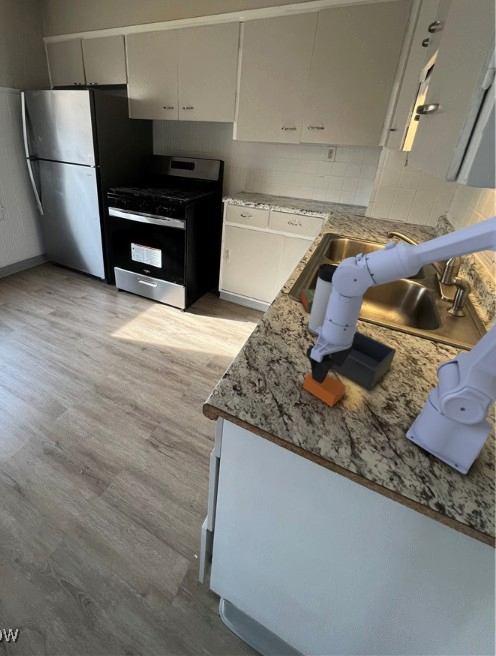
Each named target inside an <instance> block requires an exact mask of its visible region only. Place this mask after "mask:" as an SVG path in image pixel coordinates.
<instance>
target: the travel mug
mask: <svg viewBox="0 0 496 656" xmlns="http://www.w3.org/2000/svg"><path fill="white" fill-rule="evenodd" d="M338 266H339V265H336V264H333V263H326V262H325V263H319V265H318V269H319V271H318V276H317V279H316V286H315V289H314V290H315V295H314V300H313V305H312V310H311V312H310V316H309V320H308V325H307V329H308V331H309V332H310V333H312V334H313V335H315V336H318V337H319V334H318V333H317V332H316V329H317V328H318V327H320V326H322V327H323V324H324V319H325V315H326V310H327V306H328V302H329V298H330V294H331V293H332V287H333V284H332V277H333V274H334V272H335V271H336V269H337V268H338Z"/></svg>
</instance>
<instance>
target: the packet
mask: <svg viewBox="0 0 496 656" xmlns="http://www.w3.org/2000/svg"><path fill="white" fill-rule="evenodd" d="M302 388H303V389H305V390H306V391H308V392H309V393H310V394H312V395H313V396H315V397H316V398H318V399H319V400H321V401H322V402H324V403H325V404H327V405H328V406H329V407H331V408H333V407H334V406H335V405H336V404H337V403H338V401H340V399H341V398H343V396H344V392H345V390H346V385H345V384H343V383H341V382H340V381H338V380H337V379H335V378H333V377H331V376H330V375H328V374H327V376H326V378H325V380H324V381H323V383H321V384H320V383H318V382H317V381H315V380H314V379H312V371H311V372H310V373H308V374H307V375H306V376H305V377H304V380H303V385H302Z"/></svg>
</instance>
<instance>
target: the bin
mask: <svg viewBox="0 0 496 656" xmlns="http://www.w3.org/2000/svg"><path fill="white" fill-rule="evenodd" d="M354 336H355V337H357V338H358V339H359V340H360V342H359V344H358V345H357V346H355V347H354V348H353V349H352V350H351V352H350V353H349V355H348V356H347V358H346V360H345V361H344V363H343V364H342V366H341V367H339V366H337V365H333V366H332V367H331V369H332V370H334V371H335V372H337V373H339V374H340V375H342V376H344V377H345V378H347V379H348V380H351V381H352V382H354V383H355V384H357V385H359V386H360V387H362V388H364V389H366V390H367V391H369V392H370V391H371V390H372V389H373V388H374V387H375V385H376V384H377V383H379V381H380V380H381V379H382V377H384V375H385V374H386V373H387V372H388V371H389V370H390V368H391V367H392V363H393V360H394V358H395V356H396V352H397V349H396V348H393V347H391V346H389V345H387V344H385V343H383V342H381V341H378V340H377V339H374V338H372V337H370V336H368V335H367V334H364V333H362V332H360V331H358V330H357V331H356V333H355V334H354ZM331 354H332V353H330V354H328V355H329V358H331Z"/></svg>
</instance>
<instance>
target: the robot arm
mask: <svg viewBox="0 0 496 656" xmlns="http://www.w3.org/2000/svg"><path fill="white" fill-rule="evenodd" d="M484 251H491V252H495V253H496V215H494V216H492V217H489V218H487V219H484V220H482V221H478V222H475V223H473V224H470V225H468V226H465V227H462V228H459V229H457V230H454V231H451V232H449V233H446V234H443V235H441V236H438V237H435V238H433V239H430V240H427V241H424V242H421V243H419V244H415V245H414V244H411V243H408V242H404V241H402V242H399V243H395V241H389V242H387V243H385V244H384V248H381V249H377V250H374V251H371V252H369V253H366V254H364V253H363V252H360V253H358V254H356V255H355V256H349V257H346V258H344V259H343V260H341V262H340V263H339V264H338V265H337V266H338V268H337V269H336V271H335V272H334V274H333V277H332V284H333V287H332V293H331V294H330V298H329V302H328V306H327V310H326V315H325V319H324V324H323V327H322V326H320V327H318V328H317V329H316V332H317V333H318V334H319V336H318V337H317V340H316V342H315V345H314V346H313V345H310V346H309V347H308V348H307V349H306V351H305V352H306V353H305V354H306V356H307V359H308V361H309V364H310V368H311V369H310V370H311V372H312V379H314V380H315V381H317V382H318V383H320V384H321V383H323V381H324V380H325V378H326V376H327V375H328V374H329V372H330V370H331V369H332V368H331V367H332V366H333V365H337V366H339V367H341V366H342V364H343V363H344V361H345V360H346V358H347V356H348V355H349V353H350V352H351V350H352V349H353V348H354V347H355V346H357V345H358V344H359V342H360V340H359V339H358V338H357V337H355V336H354V334H355V333H356V331H358V327H359V326H358V322H359V321H358V320H359V317H360V313H361V310H362V307H363V303H364V299H363V297H364V294H366V292H367V291H368V289H369V288H370V287H378V286H381V285H385V284H388V283H393V282H397V281H401V280H403V279H407V278H410V277H414V276H417V275H418V273H419V271H420V270H421V269H422V267H424V266H426V265H431V264H435V263H438V262H442V261H446V260H451V259H455V258H459V257H463V256H468V255H471V254H476V253H480V252H484ZM330 353H332V354H331V358H329V355H328V354H330ZM436 376H437V379H438V380H437V381H438V382H437V383H438V384H437V385H436V386H435V387H434V388H432V389H431V390H430V392H429V394H428V396H427V398H426V400H425V402H424V404H423V407H422V409H421V411H420V413H419V414H418V415H417V417H415V419H414V421H413V423H412V424H411V426H410V427H409V429H408V431H407V432H406V434H405V437H406V438H407V439H408V440H410V441H411V442H412V443H414V444H416V445H418V446H419V447H421V448H422V449H424V451H426V452H428V453H429V454H431V455H433V456H435V457H436V458H438V459H439V460H441V461H442V462H444V463H445V464H447V465H449V466H450V467H452V468H453V469H454V470H456V471H458V472H460V474H462V475H467V474H468V472H469V470H470V468H471V466H472V465H473V463H474V462H475V460H478V458H479V456H480V454H481V452H482V449H483V447H484V445H485V443H486V442H487V440H488V437H489V436H490V433H491V431H492V429H493V423H492V422H490V421H489V420H487V419H488V417H489V415H490V408H491V406H492V405H493V404H494V403H495V402H496V323H495V324H494V325H493V326H492V327H491V328H490V329H489V330H488V331H487V332H486V333H485V334H484V335H483V336H482V338H480V339H479V341H478V342H477V343H476V344H475V345H474V346H472V348H471V349H470V350H469V351H468V352H459V353H458V354H457V355H456V356H455V357H454V358H453V359H450V360H447V361H444V362H442V363H441V364H439V365H438V367H437V369H436Z"/></svg>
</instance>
